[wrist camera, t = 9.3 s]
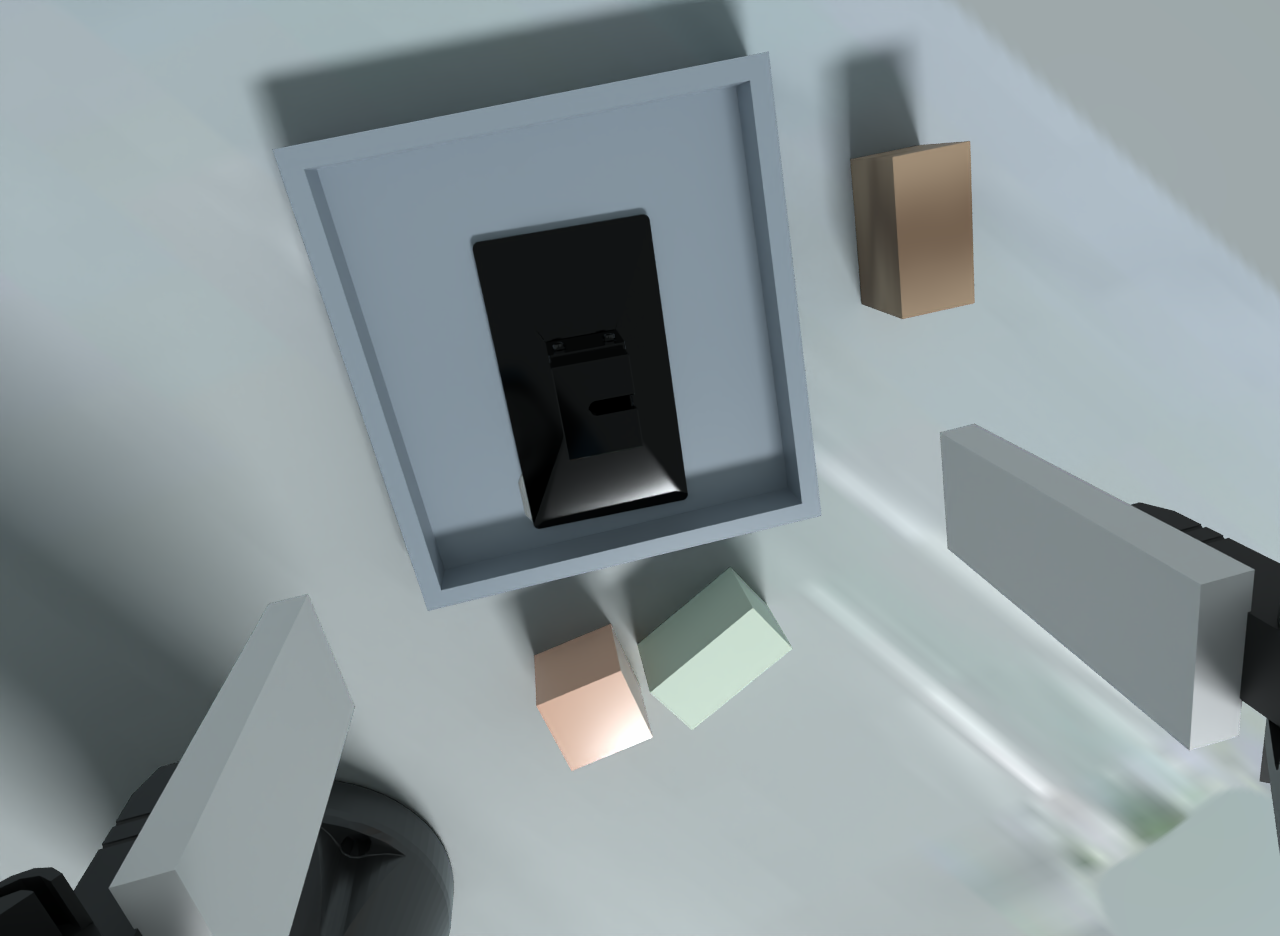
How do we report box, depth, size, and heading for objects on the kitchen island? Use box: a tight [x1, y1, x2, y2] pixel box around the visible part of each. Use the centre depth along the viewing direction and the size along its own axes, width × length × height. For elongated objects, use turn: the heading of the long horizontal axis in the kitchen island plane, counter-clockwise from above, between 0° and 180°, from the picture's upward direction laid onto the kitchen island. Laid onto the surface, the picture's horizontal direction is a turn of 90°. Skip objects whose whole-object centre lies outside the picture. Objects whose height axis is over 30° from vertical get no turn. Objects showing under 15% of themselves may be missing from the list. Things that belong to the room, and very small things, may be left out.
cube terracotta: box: [534, 624, 652, 771], centre depth 37 cm, size 4×4×4 cm
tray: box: [272, 52, 821, 611], centre depth 32 cm, size 18×19×2 cm
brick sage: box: [638, 567, 793, 730], centre depth 37 cm, size 6×3×4 cm, turn 131°
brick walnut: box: [850, 141, 974, 319], centre depth 32 cm, size 6×3×4 cm, turn 11°
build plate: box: [473, 214, 688, 529], centre depth 31 cm, size 12×7×5 cm, turn 9°
